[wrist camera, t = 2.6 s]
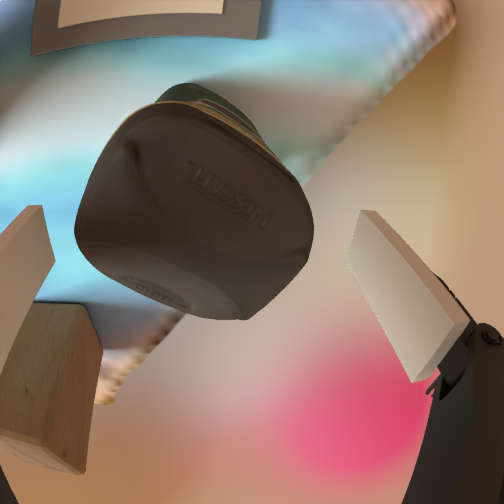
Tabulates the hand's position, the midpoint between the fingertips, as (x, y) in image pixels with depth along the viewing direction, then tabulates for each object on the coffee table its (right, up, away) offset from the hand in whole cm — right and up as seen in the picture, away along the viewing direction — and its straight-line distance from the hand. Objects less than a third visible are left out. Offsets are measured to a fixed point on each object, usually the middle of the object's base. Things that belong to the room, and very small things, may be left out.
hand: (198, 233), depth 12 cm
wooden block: (-24, -11, +24) cm, 36 cm away
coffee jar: (-3, +10, +14) cm, 17 cm away
